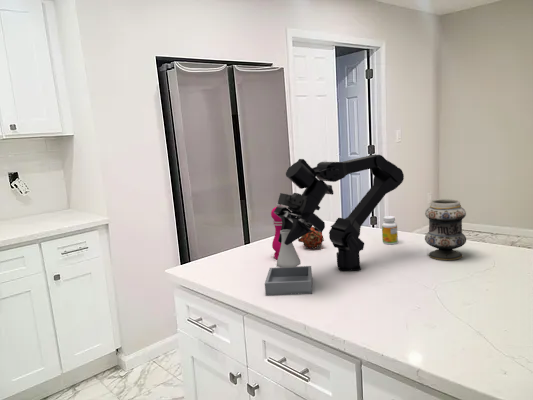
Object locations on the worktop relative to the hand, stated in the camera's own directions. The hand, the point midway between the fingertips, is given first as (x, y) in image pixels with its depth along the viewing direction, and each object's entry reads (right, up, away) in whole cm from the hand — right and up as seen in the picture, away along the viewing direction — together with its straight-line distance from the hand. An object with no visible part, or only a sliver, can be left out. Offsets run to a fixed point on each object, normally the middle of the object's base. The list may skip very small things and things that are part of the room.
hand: (282, 243), depth 111 cm
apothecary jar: (+53, -6, +16) cm, 56 cm away
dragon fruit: (+13, -6, +39) cm, 41 cm away
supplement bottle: (+41, -4, +35) cm, 55 cm away
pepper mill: (+2, -8, +30) cm, 31 cm away
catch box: (+2, -13, +3) cm, 13 cm away
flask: (+2, -6, +2) cm, 7 cm away
